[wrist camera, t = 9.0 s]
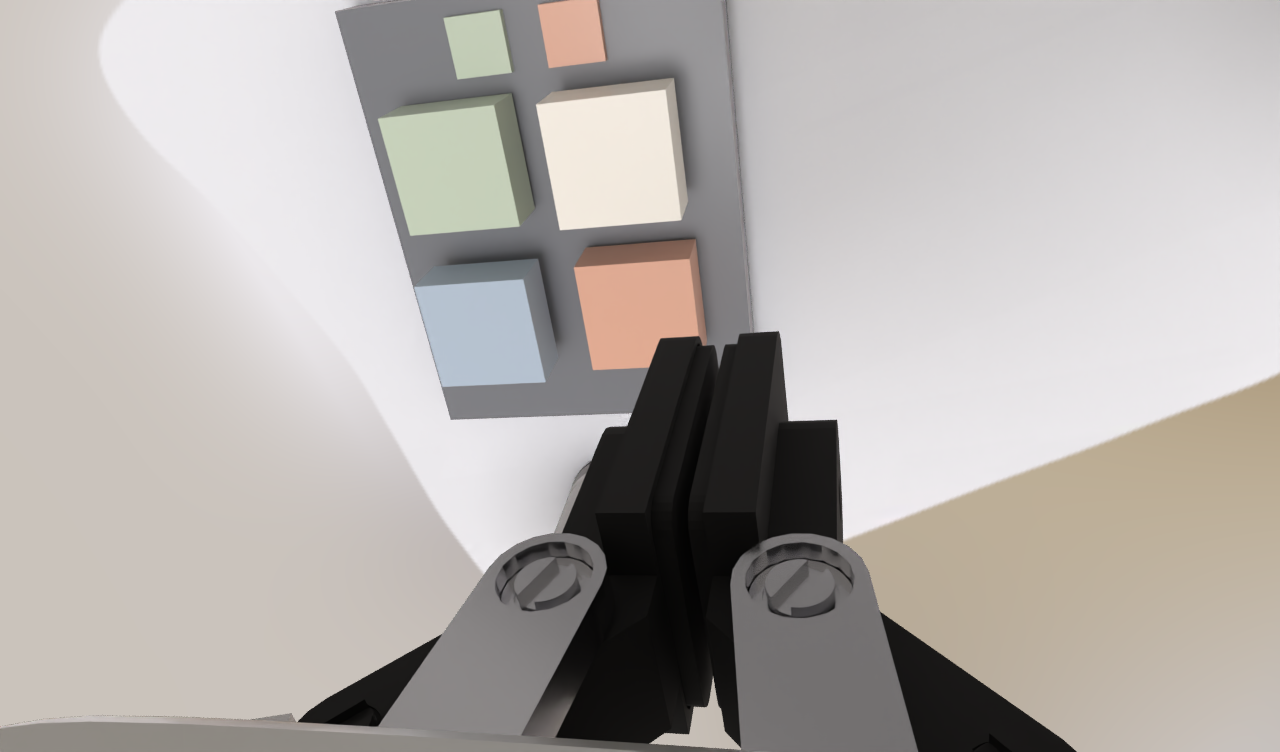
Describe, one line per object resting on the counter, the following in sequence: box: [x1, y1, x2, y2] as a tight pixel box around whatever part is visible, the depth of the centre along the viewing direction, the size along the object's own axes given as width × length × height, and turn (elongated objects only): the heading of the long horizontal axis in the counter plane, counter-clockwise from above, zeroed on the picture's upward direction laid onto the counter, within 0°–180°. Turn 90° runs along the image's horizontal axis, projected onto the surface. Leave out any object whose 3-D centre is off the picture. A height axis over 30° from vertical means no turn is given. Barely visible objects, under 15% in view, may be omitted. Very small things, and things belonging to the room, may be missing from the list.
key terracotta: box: [574, 239, 707, 370], centre depth 38 cm, size 5×5×2 cm
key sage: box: [378, 93, 535, 236], centre depth 36 cm, size 5×5×2 cm
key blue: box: [414, 259, 558, 387], centre depth 39 cm, size 5×5×2 cm
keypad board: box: [335, 0, 754, 420], centre depth 39 cm, size 16×20×2 cm
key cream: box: [536, 78, 688, 230], centre depth 34 cm, size 5×5×2 cm
